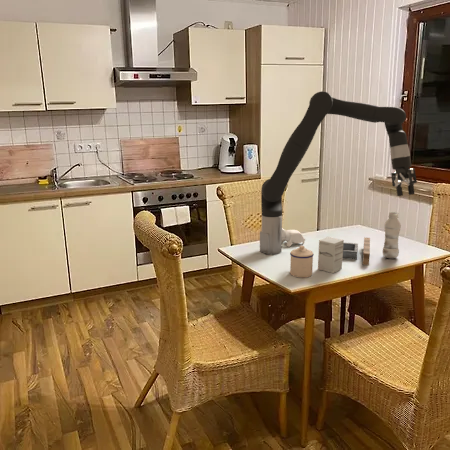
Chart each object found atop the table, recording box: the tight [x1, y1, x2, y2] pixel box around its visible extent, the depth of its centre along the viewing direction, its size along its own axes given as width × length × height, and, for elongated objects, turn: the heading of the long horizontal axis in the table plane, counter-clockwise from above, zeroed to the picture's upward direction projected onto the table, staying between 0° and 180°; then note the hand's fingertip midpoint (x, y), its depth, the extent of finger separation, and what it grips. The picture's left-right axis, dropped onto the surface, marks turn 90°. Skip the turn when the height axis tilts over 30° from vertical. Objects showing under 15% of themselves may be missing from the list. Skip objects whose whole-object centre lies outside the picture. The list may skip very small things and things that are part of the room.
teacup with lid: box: [289, 245, 314, 279], centre depth 179 cm, size 12×9×12 cm
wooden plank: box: [362, 236, 371, 266], centre depth 199 cm, size 24×2×5 cm, turn 163°
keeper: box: [342, 242, 359, 260], centre depth 202 cm, size 12×12×4 cm
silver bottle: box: [382, 211, 402, 259], centre depth 194 cm, size 6×7×20 cm
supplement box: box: [317, 236, 345, 274], centre depth 182 cm, size 7×7×13 cm
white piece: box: [282, 227, 306, 248], centre depth 217 cm, size 9×8×15 cm
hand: (405, 195), depth 189 cm, fingers open, 8 cm apart
